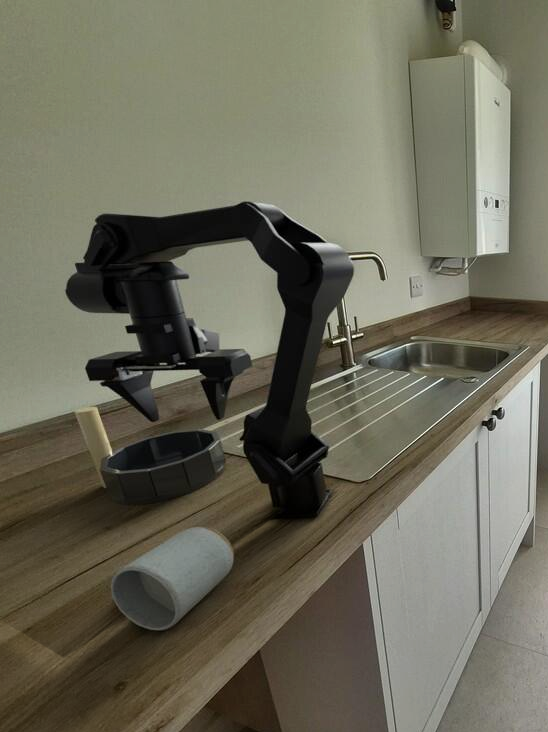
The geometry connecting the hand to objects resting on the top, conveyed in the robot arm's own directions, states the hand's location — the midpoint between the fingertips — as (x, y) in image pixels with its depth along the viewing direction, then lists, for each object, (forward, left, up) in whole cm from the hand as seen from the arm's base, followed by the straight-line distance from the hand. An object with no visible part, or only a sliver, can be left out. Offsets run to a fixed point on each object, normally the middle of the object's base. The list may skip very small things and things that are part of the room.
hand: (188, 420), depth 60 cm
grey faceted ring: (+9, -4, -12) cm, 15 cm away
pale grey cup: (-9, +21, -13) cm, 26 cm away
